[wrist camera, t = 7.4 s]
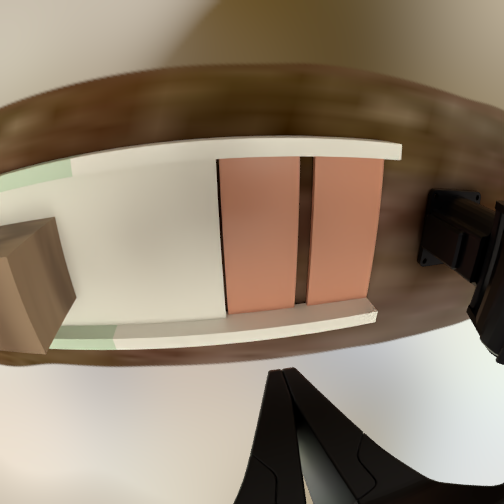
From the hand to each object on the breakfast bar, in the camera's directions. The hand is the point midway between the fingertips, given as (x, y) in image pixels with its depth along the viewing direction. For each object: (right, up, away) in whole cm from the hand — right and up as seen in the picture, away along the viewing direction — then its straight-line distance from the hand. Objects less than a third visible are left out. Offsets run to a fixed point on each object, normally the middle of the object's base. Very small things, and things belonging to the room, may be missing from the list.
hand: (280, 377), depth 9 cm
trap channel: (-6, +4, +10) cm, 12 cm away
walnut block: (-16, +3, +8) cm, 18 cm away
